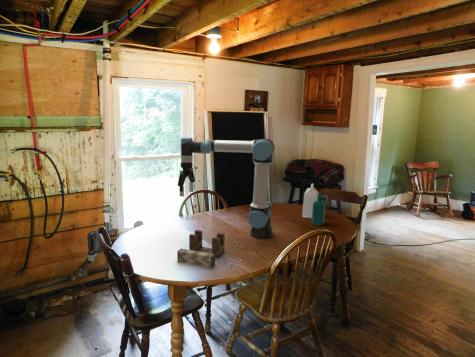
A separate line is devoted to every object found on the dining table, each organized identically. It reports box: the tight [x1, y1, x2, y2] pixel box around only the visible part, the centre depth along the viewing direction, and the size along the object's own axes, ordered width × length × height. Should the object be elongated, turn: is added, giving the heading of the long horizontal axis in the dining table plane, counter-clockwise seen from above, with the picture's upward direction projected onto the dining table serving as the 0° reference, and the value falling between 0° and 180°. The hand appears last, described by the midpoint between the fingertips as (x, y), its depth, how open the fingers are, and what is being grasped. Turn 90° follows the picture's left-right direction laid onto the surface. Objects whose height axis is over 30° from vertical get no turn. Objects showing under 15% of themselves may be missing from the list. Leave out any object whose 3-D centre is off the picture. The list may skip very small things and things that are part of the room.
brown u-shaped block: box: [188, 229, 226, 259], centre depth 192 cm, size 18×10×11 cm, turn 73°
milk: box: [301, 183, 320, 219], centre depth 266 cm, size 12×12×26 cm
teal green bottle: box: [311, 194, 329, 226], centre depth 247 cm, size 10×8×22 cm
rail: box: [176, 248, 216, 269], centre depth 178 cm, size 20×4×6 cm, turn 73°
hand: (186, 194), depth 217 cm, fingers open, 13 cm apart
